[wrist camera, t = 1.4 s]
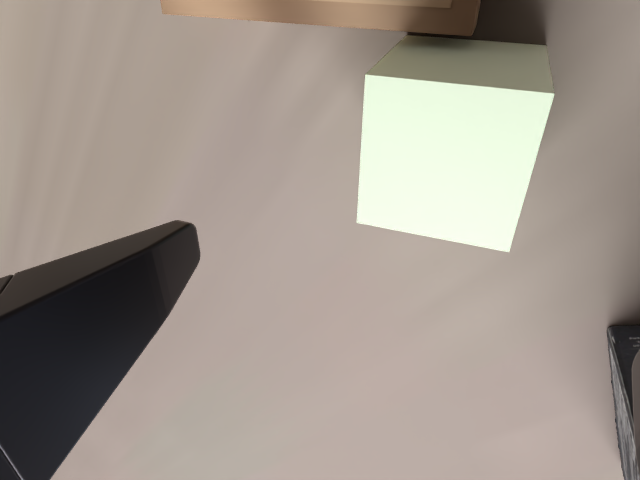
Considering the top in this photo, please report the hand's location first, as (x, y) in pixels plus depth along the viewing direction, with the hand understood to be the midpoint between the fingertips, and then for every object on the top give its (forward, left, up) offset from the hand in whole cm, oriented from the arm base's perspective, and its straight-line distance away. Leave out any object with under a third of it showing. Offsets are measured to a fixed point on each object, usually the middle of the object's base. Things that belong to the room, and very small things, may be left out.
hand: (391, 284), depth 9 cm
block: (0, 0, -12) cm, 12 cm away
